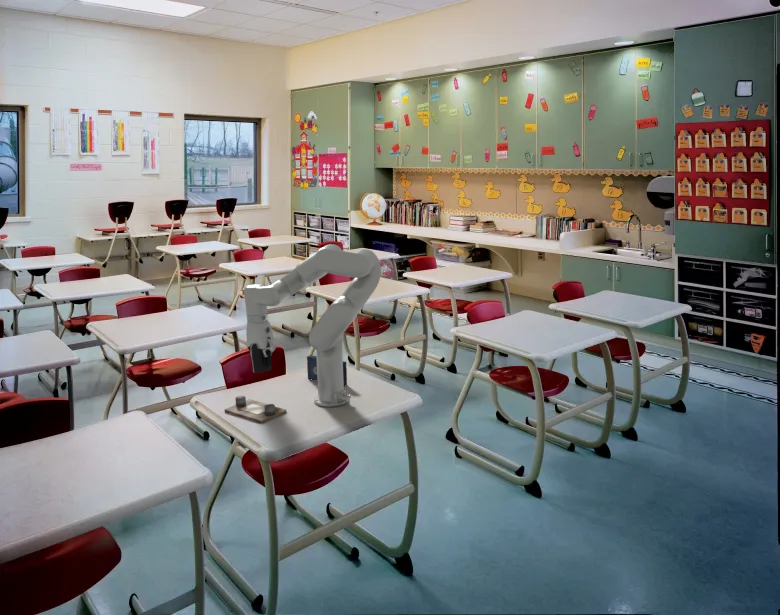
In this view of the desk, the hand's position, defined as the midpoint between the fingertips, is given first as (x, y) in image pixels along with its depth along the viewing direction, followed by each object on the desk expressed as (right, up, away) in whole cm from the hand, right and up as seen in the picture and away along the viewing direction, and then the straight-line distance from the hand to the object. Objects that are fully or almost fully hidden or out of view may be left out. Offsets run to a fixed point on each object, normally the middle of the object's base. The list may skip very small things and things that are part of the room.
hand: (262, 364), depth 239 cm
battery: (0, -3, +1) cm, 3 cm away
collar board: (0, -16, -10) cm, 19 cm away
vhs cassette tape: (+22, -9, +19) cm, 31 cm away
